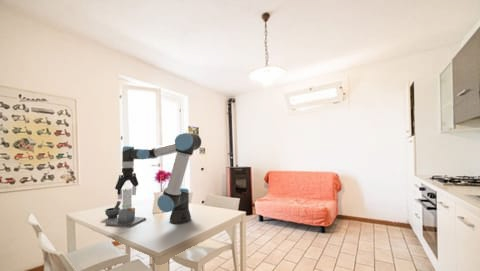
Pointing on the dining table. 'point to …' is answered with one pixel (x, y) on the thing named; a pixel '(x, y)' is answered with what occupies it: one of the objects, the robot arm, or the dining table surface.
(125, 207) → the column
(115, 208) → the mortar and pestle
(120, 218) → the stand
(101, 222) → the dining table surface
